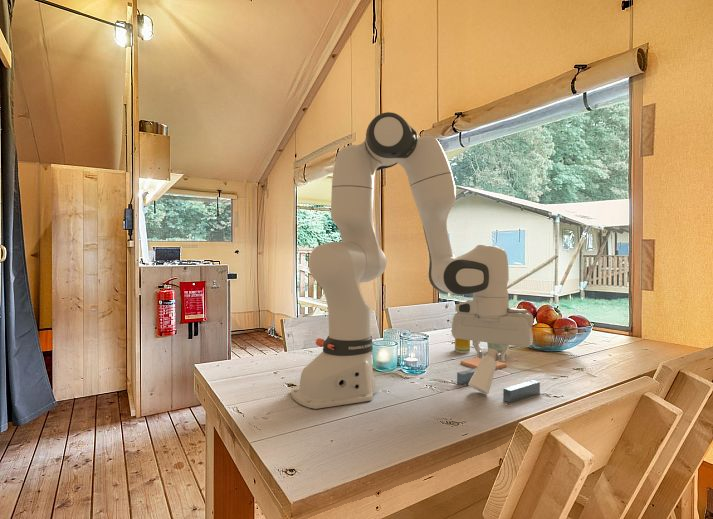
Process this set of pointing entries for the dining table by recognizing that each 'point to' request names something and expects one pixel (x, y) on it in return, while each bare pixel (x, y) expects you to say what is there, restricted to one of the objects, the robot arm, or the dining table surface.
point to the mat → (475, 362)
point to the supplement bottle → (462, 345)
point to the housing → (509, 393)
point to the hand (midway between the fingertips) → (490, 359)
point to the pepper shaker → (484, 372)
